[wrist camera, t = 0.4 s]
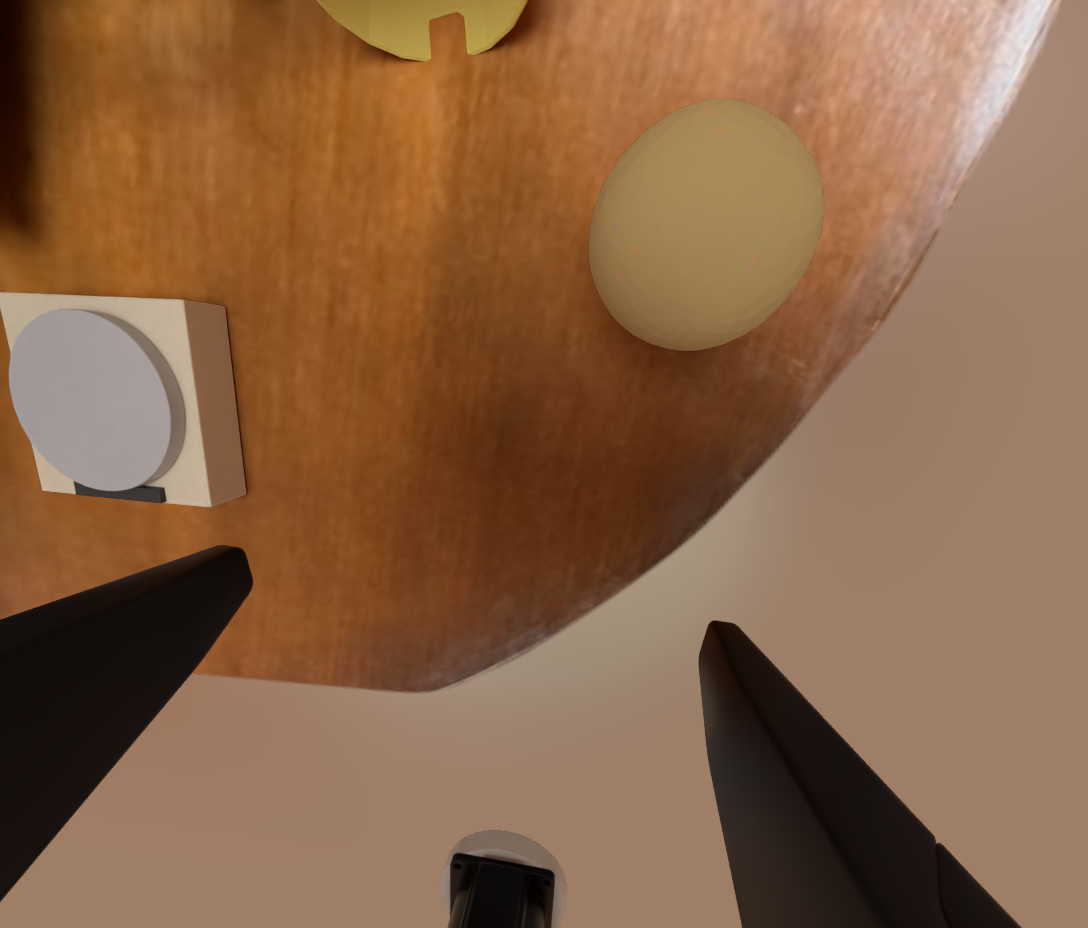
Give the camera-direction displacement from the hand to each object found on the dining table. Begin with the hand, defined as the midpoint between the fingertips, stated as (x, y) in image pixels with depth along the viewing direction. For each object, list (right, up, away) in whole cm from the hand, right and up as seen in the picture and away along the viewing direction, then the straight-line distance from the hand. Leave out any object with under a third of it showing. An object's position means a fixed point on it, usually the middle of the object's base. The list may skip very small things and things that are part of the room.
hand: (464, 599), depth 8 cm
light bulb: (+7, +11, +12) cm, 17 cm away
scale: (-21, +6, +16) cm, 27 cm away
